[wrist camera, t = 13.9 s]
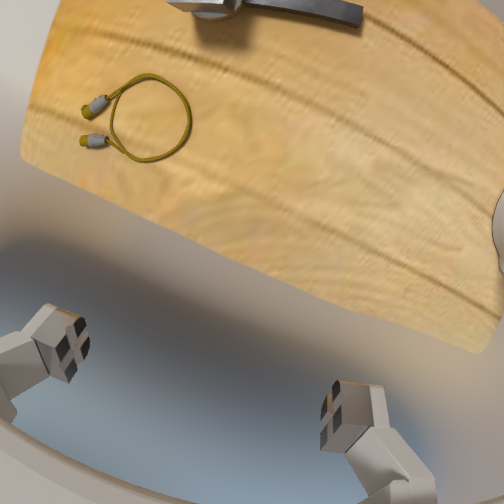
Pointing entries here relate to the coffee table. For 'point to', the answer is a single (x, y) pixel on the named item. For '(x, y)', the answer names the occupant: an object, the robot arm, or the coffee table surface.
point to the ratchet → (299, 10)
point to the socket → (205, 6)
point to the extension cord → (100, 103)
